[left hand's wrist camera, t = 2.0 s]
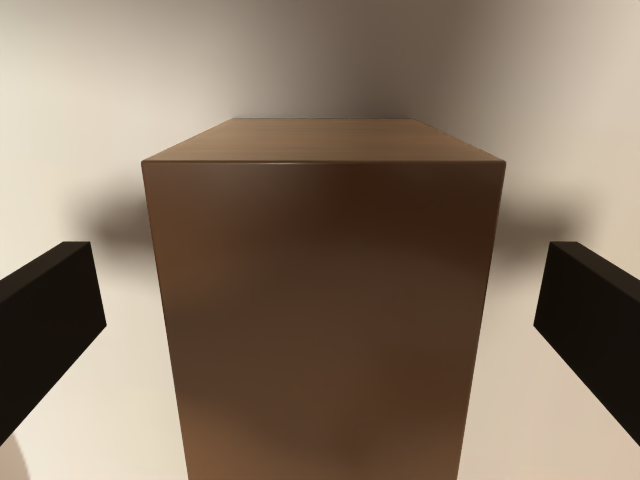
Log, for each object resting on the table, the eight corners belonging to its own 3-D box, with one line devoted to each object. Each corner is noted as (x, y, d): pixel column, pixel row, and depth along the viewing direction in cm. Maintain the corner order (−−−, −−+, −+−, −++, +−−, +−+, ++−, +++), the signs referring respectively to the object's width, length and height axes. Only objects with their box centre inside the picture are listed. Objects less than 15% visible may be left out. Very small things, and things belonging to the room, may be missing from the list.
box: (230, 118, 16) (139, 160, 8) (414, 118, 16) (508, 161, 8) (260, 536, 25) (230, 764, 17) (382, 537, 25) (412, 765, 17)
